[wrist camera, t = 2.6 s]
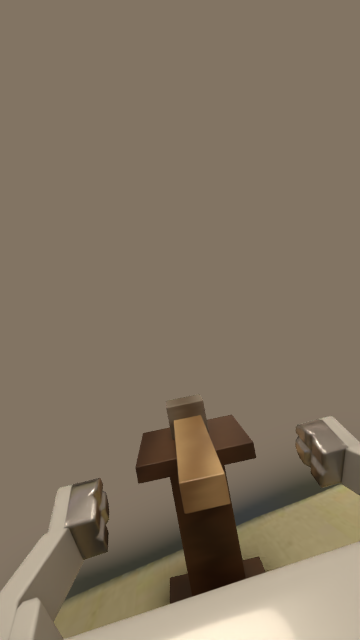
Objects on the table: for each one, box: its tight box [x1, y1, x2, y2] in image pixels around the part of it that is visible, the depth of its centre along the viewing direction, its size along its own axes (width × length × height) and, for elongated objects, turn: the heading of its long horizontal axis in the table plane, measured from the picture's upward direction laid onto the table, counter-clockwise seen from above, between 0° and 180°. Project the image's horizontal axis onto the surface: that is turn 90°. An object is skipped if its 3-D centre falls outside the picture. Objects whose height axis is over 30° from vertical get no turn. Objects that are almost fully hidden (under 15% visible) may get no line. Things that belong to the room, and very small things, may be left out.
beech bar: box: [166, 394, 230, 514], centre depth 26 cm, size 4×16×4 cm, turn 3°
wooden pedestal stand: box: [136, 415, 265, 604], centre depth 30 cm, size 11×9×18 cm
